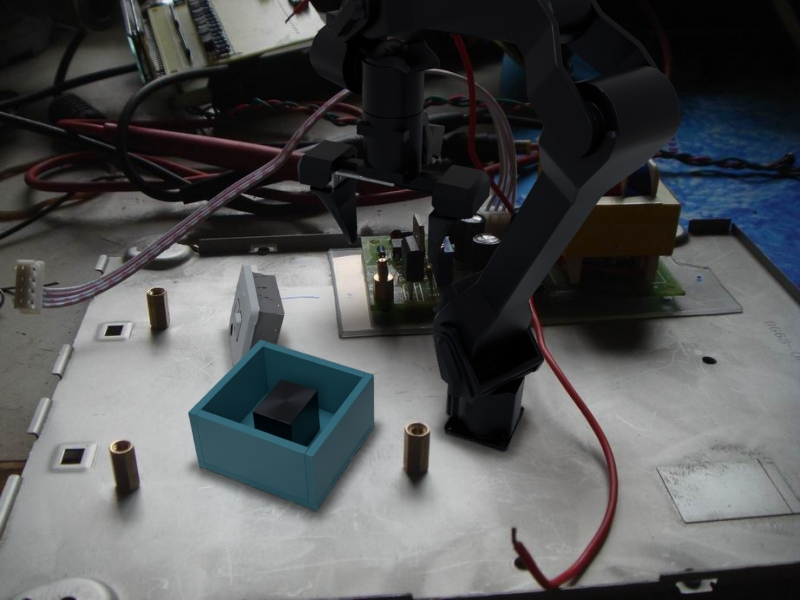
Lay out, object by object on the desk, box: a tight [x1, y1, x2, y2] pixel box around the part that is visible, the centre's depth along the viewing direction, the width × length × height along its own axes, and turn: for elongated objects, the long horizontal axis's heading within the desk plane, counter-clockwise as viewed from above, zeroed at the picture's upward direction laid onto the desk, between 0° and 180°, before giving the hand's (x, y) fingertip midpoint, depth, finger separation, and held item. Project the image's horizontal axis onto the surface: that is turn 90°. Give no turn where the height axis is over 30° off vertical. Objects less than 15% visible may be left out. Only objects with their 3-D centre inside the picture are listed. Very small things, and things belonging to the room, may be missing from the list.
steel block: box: [253, 379, 320, 447], centre depth 70 cm, size 4×5×5 cm
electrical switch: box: [227, 264, 285, 368], centre depth 81 cm, size 9×5×9 cm, turn 15°
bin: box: [187, 340, 375, 512], centre depth 70 cm, size 13×12×7 cm
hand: (391, 251), depth 79 cm, fingers open, 9 cm apart
